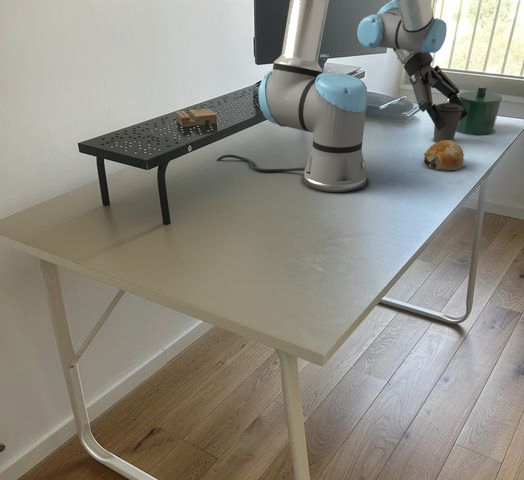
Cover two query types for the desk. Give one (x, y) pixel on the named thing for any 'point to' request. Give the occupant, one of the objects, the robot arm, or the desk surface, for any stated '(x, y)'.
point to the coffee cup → (448, 121)
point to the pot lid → (480, 96)
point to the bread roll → (444, 156)
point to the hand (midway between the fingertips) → (453, 122)
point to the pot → (478, 118)
